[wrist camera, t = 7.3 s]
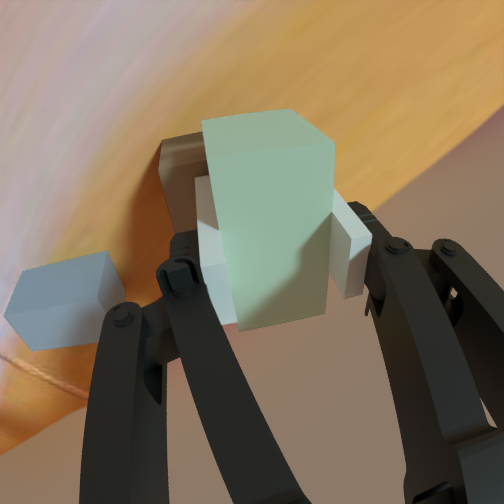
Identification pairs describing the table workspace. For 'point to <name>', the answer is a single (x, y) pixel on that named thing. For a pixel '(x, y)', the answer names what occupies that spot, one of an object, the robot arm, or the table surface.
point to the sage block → (272, 212)
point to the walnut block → (182, 177)
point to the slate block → (64, 302)
